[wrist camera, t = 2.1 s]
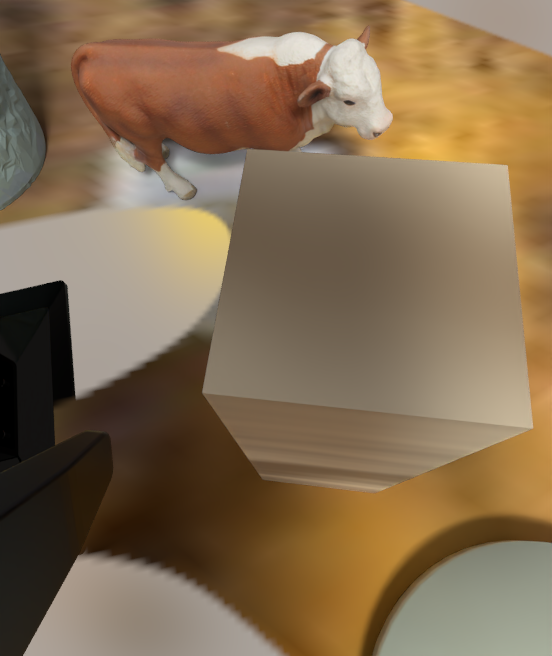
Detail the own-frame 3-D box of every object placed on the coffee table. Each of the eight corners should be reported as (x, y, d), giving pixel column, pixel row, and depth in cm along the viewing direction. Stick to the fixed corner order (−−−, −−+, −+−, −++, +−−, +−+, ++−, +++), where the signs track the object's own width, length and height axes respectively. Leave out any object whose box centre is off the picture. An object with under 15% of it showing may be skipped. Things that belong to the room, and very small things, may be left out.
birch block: (374, 493, 18) (533, 427, 6) (262, 479, 18) (201, 392, 6) (378, 384, 20) (507, 165, 8) (275, 373, 20) (247, 148, 8)
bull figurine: (367, 233, 23) (402, 89, 15) (110, 194, 24) (27, 46, 17) (377, 164, 24) (414, 4, 17) (137, 132, 26) (72, -28, 18)
